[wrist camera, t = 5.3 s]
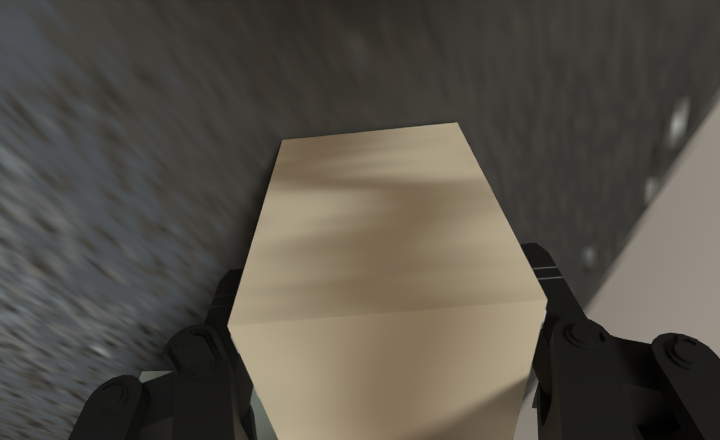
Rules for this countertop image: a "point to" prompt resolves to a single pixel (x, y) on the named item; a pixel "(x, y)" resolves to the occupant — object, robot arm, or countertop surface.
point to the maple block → (386, 293)
